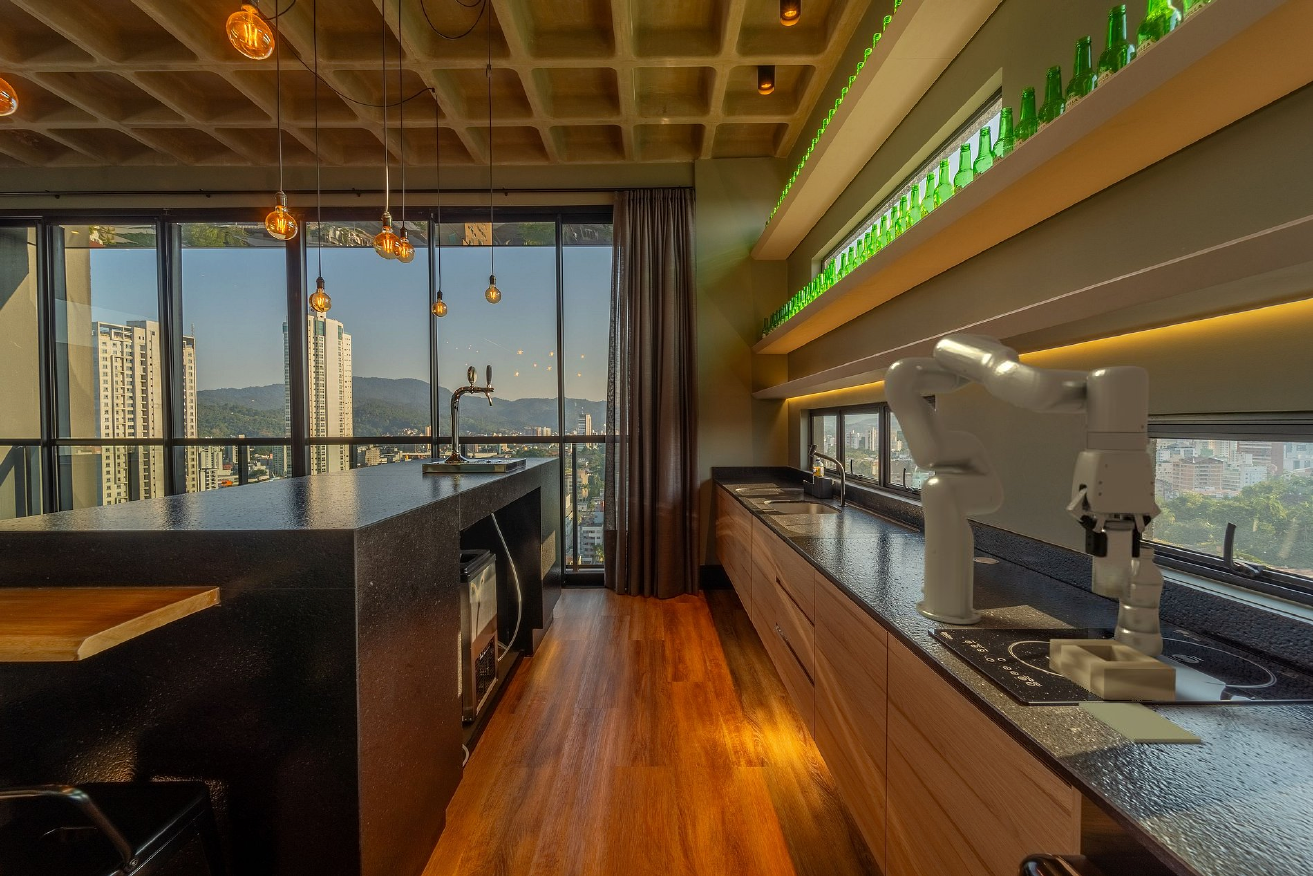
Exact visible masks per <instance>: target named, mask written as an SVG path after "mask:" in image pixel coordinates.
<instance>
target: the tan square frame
mask: <svg viewBox="0 0 1313 876" xmlns="http://www.w3.org/2000/svg"><path fill="white" fill-rule="evenodd" d="M1048 665H1049V666H1048V667H1049V668H1050V669H1051V670H1052V671H1054V672H1056V673H1057V674H1059V675H1060V676H1062V677H1064V678H1066V679H1067V680H1068V681H1070V680H1071V682H1072V683H1073V684H1075V683H1076V686H1078V685H1079V686H1078V687H1080V686H1081V687H1080V688H1082V687H1083V688H1084V690H1085V689H1086V690H1085V691H1087V690H1088V691H1089V692H1088V691H1087V692H1088V693H1090V692H1092V693H1093V694H1096V695H1097V696H1099V697H1101V698H1103V699H1108V700H1109V699H1110V700H1132V701H1131V702H1143V701H1142V700H1161V701H1160V702H1176V689H1177V688H1176V686H1177V685H1176V683H1177V669H1176V668H1175V667H1172V666H1170V665H1168V664H1166V663H1164V662H1162V661H1160V660H1157V659H1155V657H1153V658H1151V657H1149V656H1147V655H1145V654H1143V653H1141V652H1139V651H1136V650H1134V649H1132V648H1130V647H1128V646H1126V645H1124V644H1122V643H1119V642H1117V641H1115V639H1100V638H1099V639H1095V638H1093V639H1092V638H1091V639H1086V638H1084V639H1082V638H1081V639H1078V638H1075V639H1074V638H1073V639H1072V638H1071V639H1070V638H1069V639H1066V638H1064V639H1063V638H1062V639H1060V638H1058V639H1057V638H1051V639H1050V638H1049V664H1048ZM1083 688H1082V689H1083ZM1093 694H1092V695H1093ZM1134 700H1135V701H1134ZM1136 700H1137V701H1136ZM1140 700H1141V701H1140ZM1163 700H1164V701H1163Z"/></svg>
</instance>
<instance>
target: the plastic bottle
mask: <svg viewBox="0 0 1313 876" xmlns="http://www.w3.org/2000/svg"><path fill="white" fill-rule="evenodd" d="M1154 559H1155V548H1154V547H1152V546H1147V545H1141V544H1140V557H1139V558H1134V557H1132V579H1131V598H1127V599H1122V598H1118V601H1119V602H1118V605H1119V608H1118V615H1117V624H1116V626H1115V630H1114V634H1113V635H1114V640H1115V641H1117V642H1119V643H1122V644H1124V645H1126V646H1128V647H1130V648H1132V649H1134V650H1136V651H1139V652H1141V653H1143V654H1145V655H1147V656H1149V657H1151V658H1158V657H1159V656H1160V655H1161V654H1162V652H1163V648H1164V643H1163V637H1162V633H1161V628H1160V626H1161V625H1160V618H1159V613H1160V604H1161V603H1160V602H1161V594H1162V590H1163V586H1164V582H1165V581H1164V576H1163V574H1162V571H1161V570H1160V569H1159V568H1158V566H1157V565H1156V564H1155V563H1154V562H1153V560H1154Z"/></svg>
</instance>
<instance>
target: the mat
mask: <svg viewBox="0 0 1313 876" xmlns="http://www.w3.org/2000/svg"><path fill="white" fill-rule="evenodd" d="M1078 707H1080V708H1082V710H1084V711H1086V712H1087V713H1089V714H1090V715H1092V716H1093V717H1095V718H1096V719H1097V720H1099V721H1101V722H1103V724H1106V726H1108V727H1110V728H1111V729H1112V730H1114V731H1116V732H1117V733H1119V734H1120V735H1122V736H1123V737H1125V738H1126V739H1128V740H1129V741H1131V742H1132V743H1155V744H1156V743H1159V744H1160V743H1165V744H1166V743H1172V744H1173V743H1174V744H1176V743H1177V744H1178V743H1180V744H1181V743H1183V744H1186V743H1187V744H1188V743H1189V744H1190V743H1191V744H1192V743H1194V744H1195V743H1196V744H1197V743H1199V744H1202V738H1201V737H1198V736H1197V735H1195V734H1193V733H1192V732H1190V731H1188V730H1186V729H1185V728H1183V727H1182V726H1180V725H1178V724H1176V723H1174V722H1173V721H1171V720H1170V719H1167V718H1165V717H1164V716H1161V715H1160V714H1158V713H1157V712H1155V711H1153V710H1152V709H1150V708H1149V707H1146V706H1145V705H1143V704H1142V703H1139V702H1079V703H1078Z"/></svg>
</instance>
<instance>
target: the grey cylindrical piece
mask: <svg viewBox="0 0 1313 876" xmlns="http://www.w3.org/2000/svg"><path fill="white" fill-rule="evenodd" d="M1095 518H1096V517H1094V518H1093V521H1095ZM1133 529H1135V522H1133V521H1129V520H1123V519H1121V518H1116V517H1115V518H1114V517H1113V518H1112V517H1106V520H1105V523H1104V526H1103V530H1102V532H1103V533H1106V556H1105V557H1104V558H1100V557H1096V556H1093V555H1092V566H1091V567H1092V568H1091V569H1092V571H1091V573H1092V574H1091V576H1092V577H1091V581H1092V582H1091V592H1092V593H1094V594H1096V595H1100V596H1103V597H1107V598H1115V599H1119V598H1122V599H1127V598H1131V579H1132V540H1133Z"/></svg>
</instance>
